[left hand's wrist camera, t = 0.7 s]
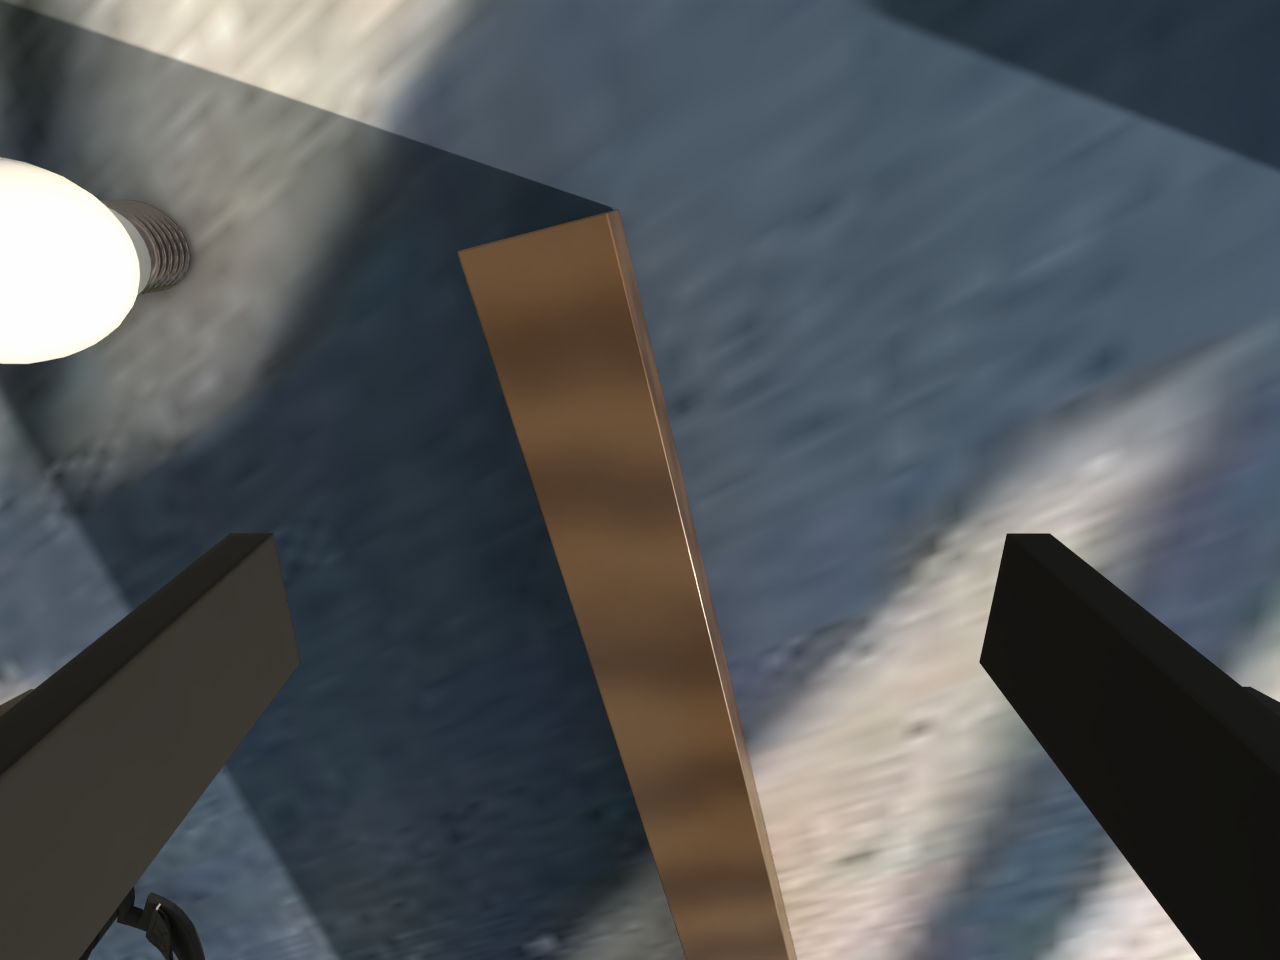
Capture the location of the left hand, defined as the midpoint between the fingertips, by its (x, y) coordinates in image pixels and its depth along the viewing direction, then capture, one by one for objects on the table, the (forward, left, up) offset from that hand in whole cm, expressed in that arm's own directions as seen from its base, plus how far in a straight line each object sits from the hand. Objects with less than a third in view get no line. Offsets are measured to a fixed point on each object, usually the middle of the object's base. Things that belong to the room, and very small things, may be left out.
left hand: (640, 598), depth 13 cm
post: (+9, +20, -20) cm, 30 cm away
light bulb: (+16, -16, -20) cm, 30 cm away
